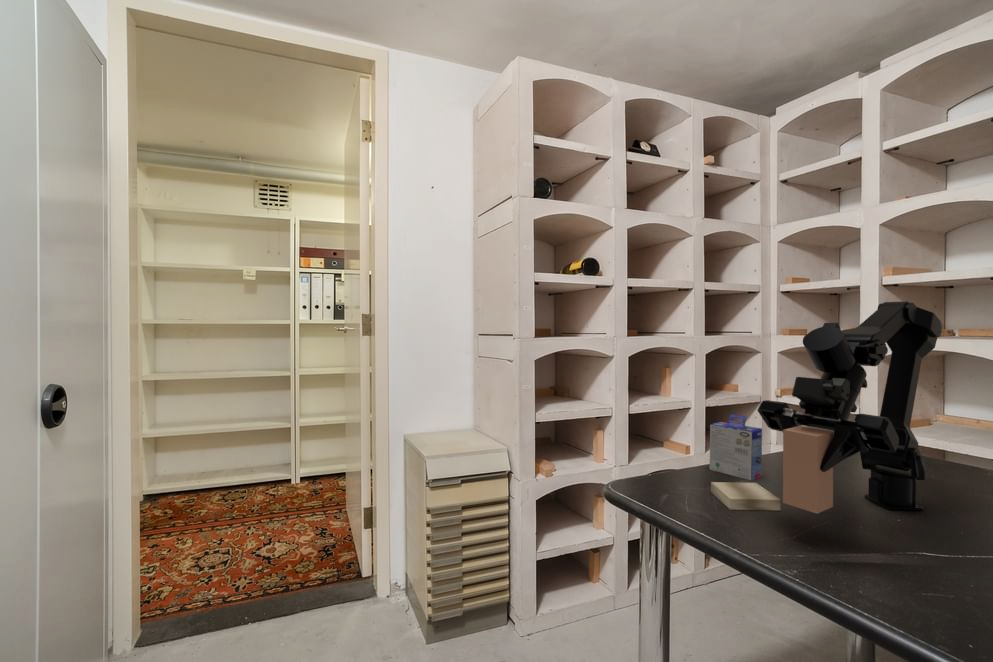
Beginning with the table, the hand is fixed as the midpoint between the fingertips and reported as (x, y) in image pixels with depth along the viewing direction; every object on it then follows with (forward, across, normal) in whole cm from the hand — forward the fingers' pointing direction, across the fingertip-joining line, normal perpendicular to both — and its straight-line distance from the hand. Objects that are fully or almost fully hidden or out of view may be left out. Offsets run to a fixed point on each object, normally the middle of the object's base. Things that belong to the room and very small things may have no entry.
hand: (803, 465), depth 72 cm
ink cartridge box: (-6, -25, +25) cm, 36 cm away
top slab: (+3, -14, +14) cm, 20 cm away
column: (+4, 0, +6) cm, 7 cm away
